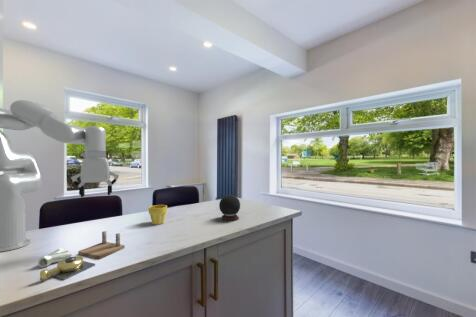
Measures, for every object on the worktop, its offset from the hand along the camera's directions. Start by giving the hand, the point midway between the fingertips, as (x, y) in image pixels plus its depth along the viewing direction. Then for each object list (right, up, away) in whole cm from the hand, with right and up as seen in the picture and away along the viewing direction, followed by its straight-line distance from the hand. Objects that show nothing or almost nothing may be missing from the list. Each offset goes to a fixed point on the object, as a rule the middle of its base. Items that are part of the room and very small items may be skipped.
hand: (96, 195), depth 94 cm
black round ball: (+56, -22, +43) cm, 74 cm away
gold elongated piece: (+3, -21, -22) cm, 30 cm away
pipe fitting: (-6, -22, -14) cm, 27 cm away
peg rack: (+5, -22, -4) cm, 23 cm away
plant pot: (+14, -22, +35) cm, 43 cm away
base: (+4, -22, -19) cm, 29 cm away
